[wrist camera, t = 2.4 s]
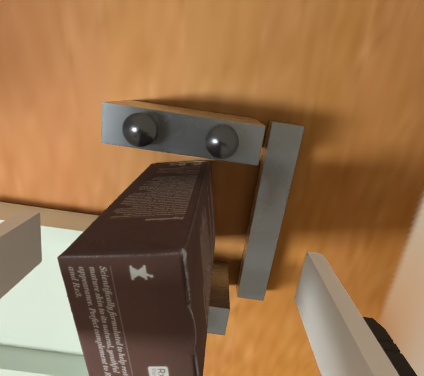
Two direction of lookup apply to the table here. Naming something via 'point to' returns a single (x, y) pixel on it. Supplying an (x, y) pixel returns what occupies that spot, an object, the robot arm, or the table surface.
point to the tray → (42, 304)
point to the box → (146, 275)
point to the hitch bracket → (226, 151)
